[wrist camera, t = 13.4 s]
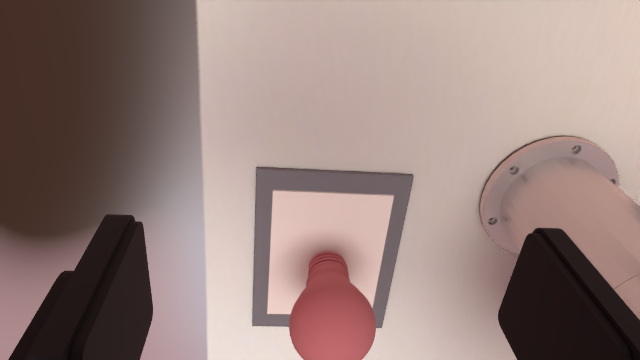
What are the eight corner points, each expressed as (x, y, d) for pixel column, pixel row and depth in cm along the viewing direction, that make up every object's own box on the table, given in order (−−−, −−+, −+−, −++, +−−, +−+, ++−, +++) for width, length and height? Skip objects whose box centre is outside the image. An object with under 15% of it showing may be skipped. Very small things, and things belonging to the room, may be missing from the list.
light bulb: (293, 226, 45) (295, 324, 35) (368, 233, 46) (391, 329, 36) (285, 284, 48) (284, 388, 38) (354, 289, 49) (372, 392, 39)
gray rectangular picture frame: (256, 166, 42) (256, 170, 42) (412, 174, 44) (414, 177, 43) (252, 323, 52) (252, 327, 51) (381, 325, 53) (382, 329, 53)
